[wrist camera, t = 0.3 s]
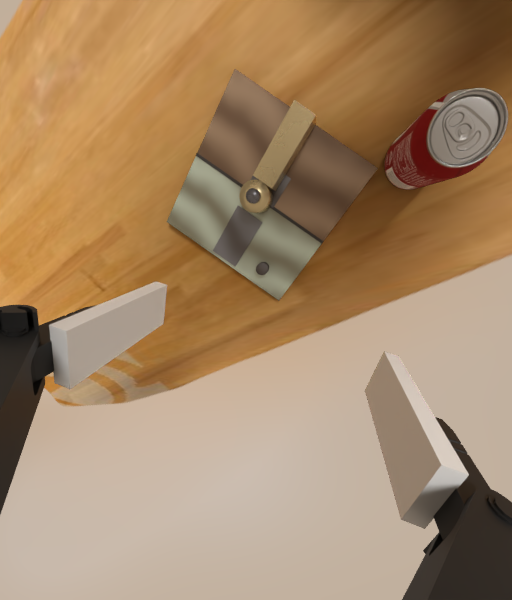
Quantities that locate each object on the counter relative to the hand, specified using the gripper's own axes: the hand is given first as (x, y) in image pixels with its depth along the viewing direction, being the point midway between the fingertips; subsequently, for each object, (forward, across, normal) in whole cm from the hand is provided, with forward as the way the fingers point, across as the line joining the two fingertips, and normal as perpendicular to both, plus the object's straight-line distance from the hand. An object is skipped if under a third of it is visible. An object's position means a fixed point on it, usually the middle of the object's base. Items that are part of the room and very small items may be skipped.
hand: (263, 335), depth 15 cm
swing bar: (+24, -6, +12) cm, 27 cm away
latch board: (+26, -8, +8) cm, 28 cm away
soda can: (+26, +10, +16) cm, 32 cm away
